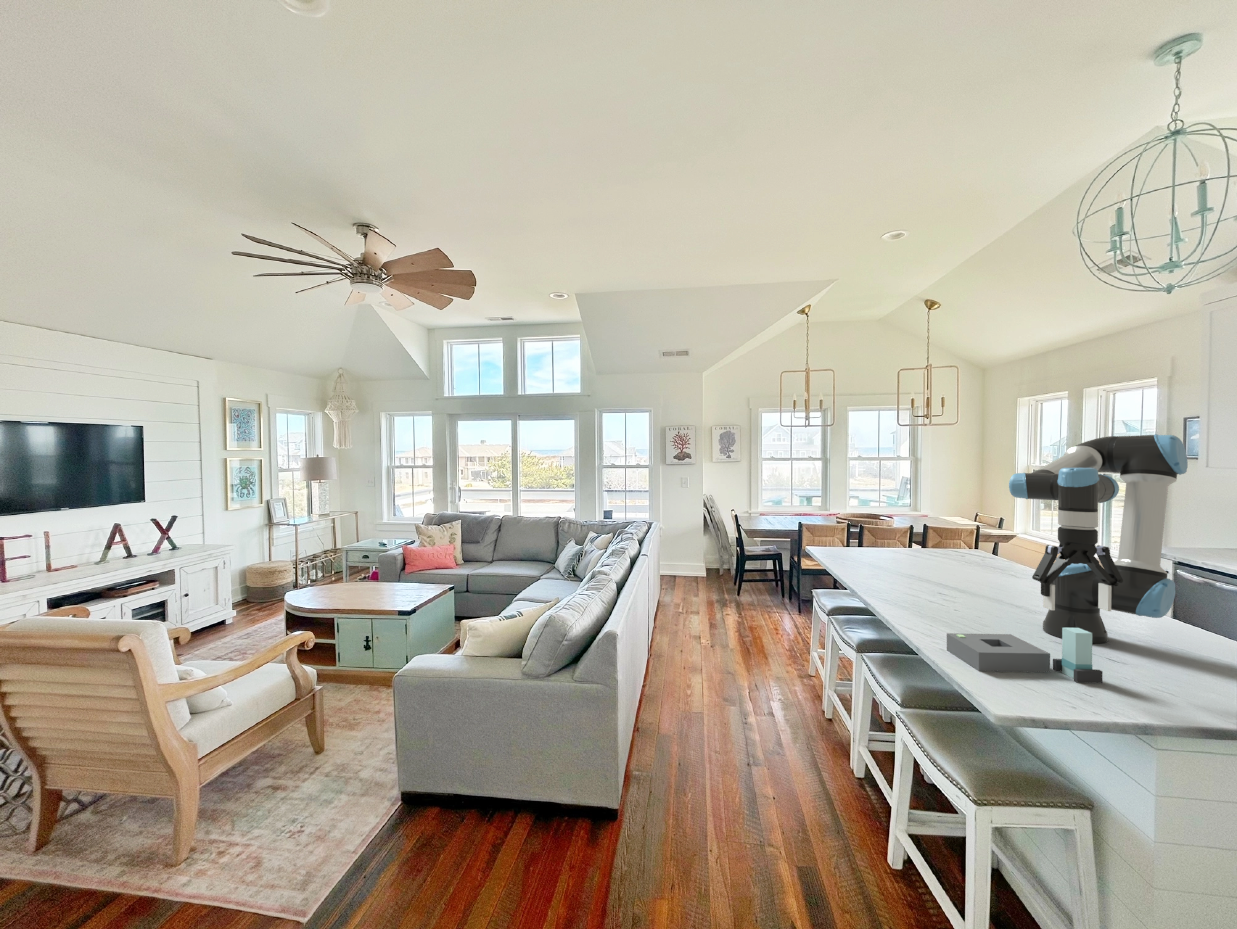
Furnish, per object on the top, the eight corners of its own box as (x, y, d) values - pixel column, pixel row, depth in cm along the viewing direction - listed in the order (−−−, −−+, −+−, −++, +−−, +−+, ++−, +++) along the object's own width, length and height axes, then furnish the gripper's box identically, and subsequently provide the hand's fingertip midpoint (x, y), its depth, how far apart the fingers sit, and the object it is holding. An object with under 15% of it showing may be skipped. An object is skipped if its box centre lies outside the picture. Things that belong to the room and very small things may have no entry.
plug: (1078, 673, 127) (1078, 627, 127) (1092, 680, 123) (1092, 633, 123) (1061, 672, 128) (1061, 627, 127) (1075, 679, 124) (1075, 633, 123)
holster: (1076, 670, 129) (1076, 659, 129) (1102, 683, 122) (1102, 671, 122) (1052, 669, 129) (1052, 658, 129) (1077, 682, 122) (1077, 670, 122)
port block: (1010, 651, 142) (1010, 633, 142) (1050, 672, 128) (1050, 652, 128) (946, 650, 143) (946, 632, 143) (978, 671, 129) (978, 651, 129)
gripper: (1114, 525, 128) (1114, 605, 128) (1015, 525, 129) (1015, 604, 130) (1143, 529, 120) (1142, 614, 121) (1038, 529, 122) (1037, 612, 122)
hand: (1076, 609), depth 125 cm, fingers open, 13 cm apart
